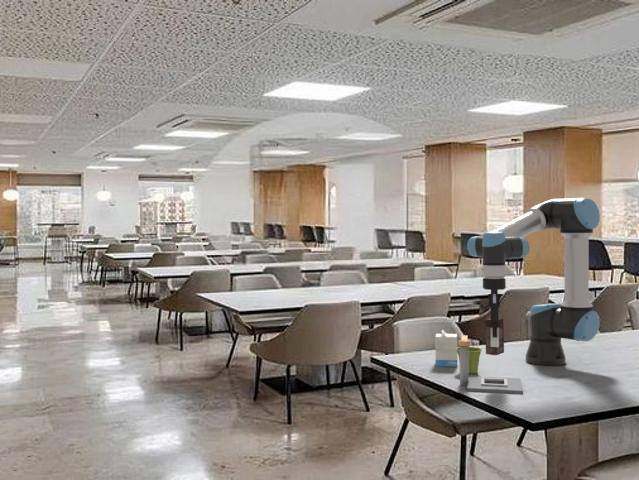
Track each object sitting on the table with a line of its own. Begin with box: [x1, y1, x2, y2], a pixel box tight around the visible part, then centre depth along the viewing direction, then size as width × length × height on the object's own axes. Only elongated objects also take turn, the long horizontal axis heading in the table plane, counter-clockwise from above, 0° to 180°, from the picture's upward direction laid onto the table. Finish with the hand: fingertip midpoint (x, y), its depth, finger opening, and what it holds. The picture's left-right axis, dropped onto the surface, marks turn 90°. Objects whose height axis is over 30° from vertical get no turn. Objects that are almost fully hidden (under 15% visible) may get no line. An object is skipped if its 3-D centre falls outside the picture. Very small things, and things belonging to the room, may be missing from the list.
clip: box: [457, 334, 471, 347], centre depth 240 cm, size 14×4×2 cm, turn 167°
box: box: [484, 317, 505, 356], centre depth 233 cm, size 6×4×12 cm
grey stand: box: [459, 346, 524, 395], centre depth 233 cm, size 20×18×13 cm
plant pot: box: [456, 346, 483, 375], centre depth 255 cm, size 9×9×9 cm
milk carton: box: [434, 329, 458, 368], centre depth 268 cm, size 9×8×13 cm
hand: (494, 344), depth 233 cm, fingers closed on box, 7 cm apart
